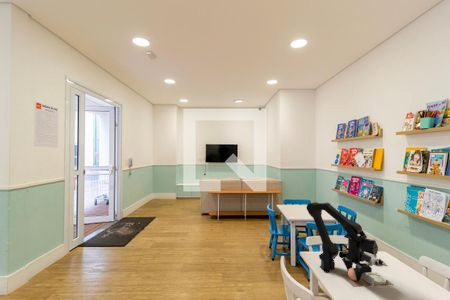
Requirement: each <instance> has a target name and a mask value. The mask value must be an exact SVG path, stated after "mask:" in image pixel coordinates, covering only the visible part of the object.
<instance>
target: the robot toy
mask: <svg viewBox="0 0 450 300" xmlns="http://www.w3.org/2000/svg"><path fill="white" fill-rule="evenodd" d="M364 253H365V254H367V255H369V256H370V257H372V258H371V261H370V263H368V262H366V261H365V263H366V264H367V265H370V264H371V265H373V266H378V265H379V264H380V265H383V266H384V265H386V264H387V263H386V262H384V261H383V260H382V259H378V258H377V254H376V255H373V254H370V253H367V252H364Z"/></svg>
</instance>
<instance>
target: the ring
mask: <svg viewBox="0 0 450 300" xmlns="http://www.w3.org/2000/svg"><path fill="white" fill-rule="evenodd" d="M376 273H377V272H372V273H367V274H368V275H370V276H371V277H372V278H374V283H377V284H386V280H387V277H385V276H383V275H382V274H379V273H378V274H376Z"/></svg>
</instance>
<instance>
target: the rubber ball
mask: <svg viewBox="0 0 450 300" xmlns="http://www.w3.org/2000/svg"><path fill="white" fill-rule="evenodd" d="M353 268H354V267H352V268H350V269H349V270H347V274H348V276H349V277H350V278H351V279H352V280H355V281H357V279H356V276H355V272H354V269H353Z"/></svg>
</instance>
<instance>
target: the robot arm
mask: <svg viewBox="0 0 450 300" xmlns="http://www.w3.org/2000/svg"><path fill="white" fill-rule="evenodd" d="M306 211H307V212H308V215H310V217H311V218H312V219H313V222H314V224H315V227H316V229H317V231H318V235H319V237H320V240H321V243H322V244H321V250H322V253H320V254H318V258H319V260H320V265H319V268H320V269H321V270H322V271H323V272H324V273H331V271H333V270H335V267H336V264H335V263H336V262H335V259H336V257H339V258H340V259H341V261H343V263H344V266H345V268H346V270H347V271H348V270H349V269H350V268H353V269H354V272H355V276H356V279H357V281H360V278H361V276H362V274H363V273H373V270H372V269H373V268H372V267H371V265H370V264H371V263H370V261H371V258H372V257H370V256H369V255H367V254H365V253H364V252H367V253H370V254H373V255H377V254H378V251H379V246H378V243H377V240H375V239H370V238H368V236H367V235H366V233H365V231H364V229H363V227H362V226H361V224H359V223H358V222H357V221H354V220H352V219H349V218H347V217H346V216H345V215H344V214H343V213H341V212H340V211H339V210H338V209H336V208H335V207H334V206H333V205H331V203H330V202H321V203H319V202H317V201H315V202H309V203H307V205H306ZM323 211H325V212H326V213H327V214H328V215H329V216H331V217H332V218H333V219H334V220H335V221H336V222H338V224H340V225H341V226H342V229H343V230H344V231H345V232H346V234H345V235H343V237H344V238H345V239H347V247H345V248H346V250H341V251H340V249H339V248H338V245H337V243H336V242H333V241H332V239H331V238H330V235H329V233H328V230H327V227H326V224H325V222H324V219H323V217H322V215H323V214H322V212H323ZM366 262H368V263H370V264H367V263H366ZM353 264H354V265H355V267H353Z"/></svg>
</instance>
